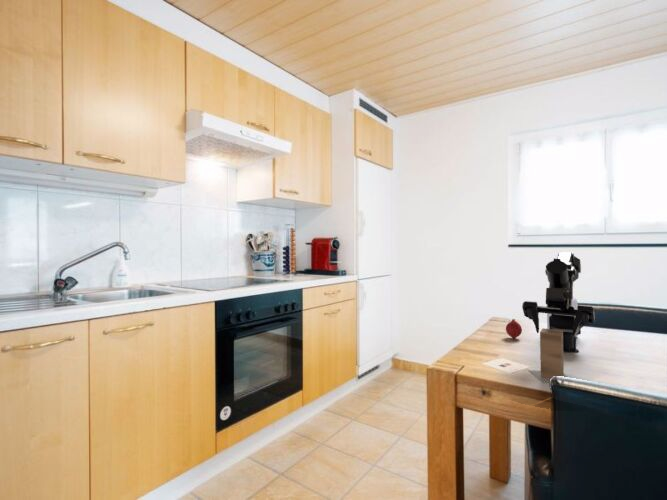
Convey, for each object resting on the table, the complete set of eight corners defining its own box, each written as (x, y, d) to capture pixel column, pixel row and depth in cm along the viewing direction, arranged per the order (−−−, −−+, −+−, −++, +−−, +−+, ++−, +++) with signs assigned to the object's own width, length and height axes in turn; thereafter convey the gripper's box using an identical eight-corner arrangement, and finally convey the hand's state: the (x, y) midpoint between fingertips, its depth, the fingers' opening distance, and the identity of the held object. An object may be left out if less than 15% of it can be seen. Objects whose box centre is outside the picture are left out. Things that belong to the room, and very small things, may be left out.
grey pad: (560, 372, 102) (560, 370, 102) (578, 384, 93) (578, 383, 93) (528, 371, 103) (528, 370, 103) (542, 384, 94) (542, 382, 94)
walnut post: (543, 371, 101) (542, 328, 101) (563, 375, 98) (562, 330, 98) (540, 377, 97) (540, 331, 97) (561, 381, 94) (560, 334, 94)
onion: (524, 340, 135) (523, 320, 135) (508, 340, 137) (508, 320, 137) (519, 336, 141) (518, 317, 141) (504, 336, 142) (503, 317, 142)
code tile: (501, 359, 115) (501, 357, 115) (530, 368, 106) (530, 366, 106) (481, 364, 110) (481, 363, 110) (509, 374, 101) (509, 373, 101)
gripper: (522, 276, 113) (516, 315, 105) (593, 279, 102) (592, 323, 93) (527, 297, 120) (521, 335, 111) (594, 301, 108) (593, 345, 99)
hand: (554, 334), depth 104 cm, fingers open, 9 cm apart
